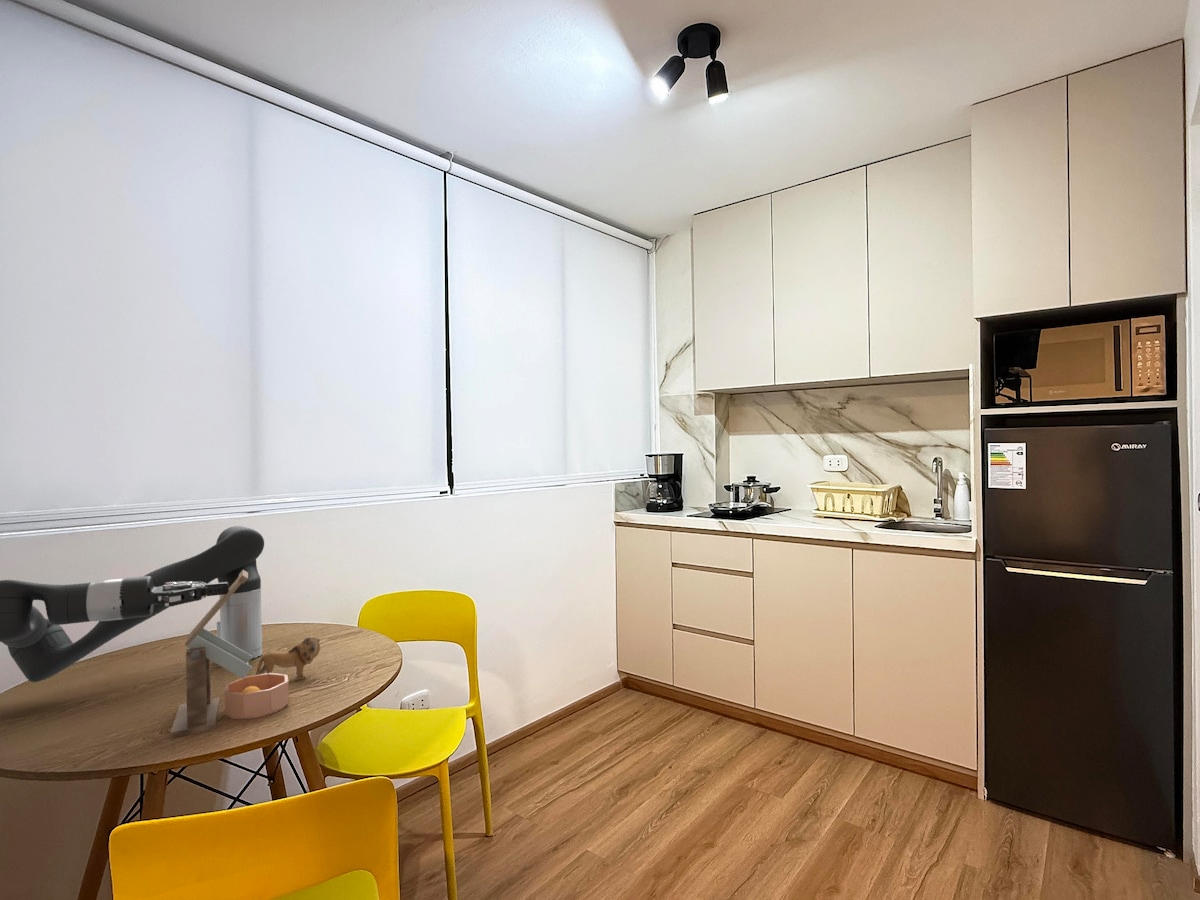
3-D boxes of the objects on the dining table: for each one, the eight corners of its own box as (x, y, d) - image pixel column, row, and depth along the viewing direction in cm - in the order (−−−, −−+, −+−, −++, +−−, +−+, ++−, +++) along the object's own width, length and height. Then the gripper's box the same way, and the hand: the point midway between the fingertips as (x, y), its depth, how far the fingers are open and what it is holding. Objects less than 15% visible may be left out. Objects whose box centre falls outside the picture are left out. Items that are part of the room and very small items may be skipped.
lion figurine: (320, 670, 151) (319, 632, 151) (321, 677, 147) (320, 638, 147) (249, 681, 145) (248, 642, 145) (249, 689, 140) (248, 648, 140)
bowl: (224, 724, 122) (223, 698, 122) (226, 703, 132) (226, 679, 132) (289, 711, 127) (289, 686, 127) (287, 693, 137) (287, 669, 137)
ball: (254, 679, 129) (269, 691, 130) (243, 685, 131) (259, 697, 132) (241, 696, 126) (257, 708, 127) (231, 702, 127) (246, 713, 129)
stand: (170, 738, 116) (169, 655, 116) (179, 709, 129) (178, 635, 129) (215, 729, 119) (213, 649, 119) (219, 702, 133) (218, 629, 133)
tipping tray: (182, 644, 120) (242, 575, 125) (186, 634, 127) (243, 569, 132) (243, 678, 125) (298, 610, 129) (244, 666, 132) (296, 602, 137)
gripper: (128, 611, 125) (230, 600, 133) (114, 627, 113) (227, 613, 121) (127, 573, 125) (229, 564, 133) (113, 585, 113) (226, 574, 121)
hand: (228, 587), depth 127 cm, fingers closed
